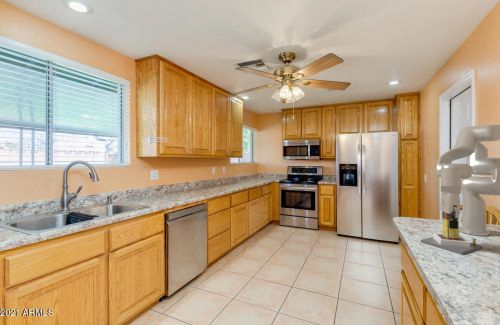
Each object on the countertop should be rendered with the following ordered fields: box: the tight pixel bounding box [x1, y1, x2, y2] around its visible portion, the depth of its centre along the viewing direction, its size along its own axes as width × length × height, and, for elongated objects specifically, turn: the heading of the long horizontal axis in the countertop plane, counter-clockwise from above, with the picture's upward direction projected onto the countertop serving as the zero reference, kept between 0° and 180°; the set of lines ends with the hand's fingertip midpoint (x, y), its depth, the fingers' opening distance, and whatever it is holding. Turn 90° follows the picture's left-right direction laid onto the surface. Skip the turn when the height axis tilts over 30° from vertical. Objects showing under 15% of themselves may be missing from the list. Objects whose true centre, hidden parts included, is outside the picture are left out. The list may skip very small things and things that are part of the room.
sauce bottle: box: [441, 211, 460, 241], centre depth 115 cm, size 6×6×20 cm
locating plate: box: [420, 232, 483, 255], centre depth 115 cm, size 17×17×4 cm
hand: (450, 226), depth 115 cm, fingers closed on sauce bottle, 6 cm apart
